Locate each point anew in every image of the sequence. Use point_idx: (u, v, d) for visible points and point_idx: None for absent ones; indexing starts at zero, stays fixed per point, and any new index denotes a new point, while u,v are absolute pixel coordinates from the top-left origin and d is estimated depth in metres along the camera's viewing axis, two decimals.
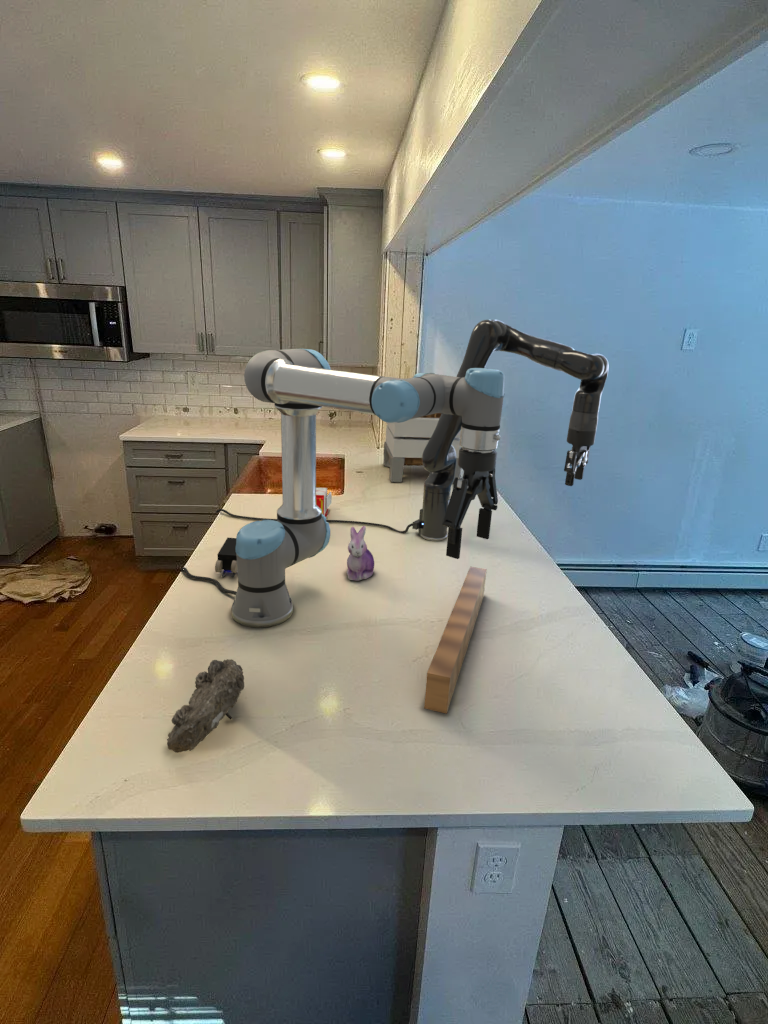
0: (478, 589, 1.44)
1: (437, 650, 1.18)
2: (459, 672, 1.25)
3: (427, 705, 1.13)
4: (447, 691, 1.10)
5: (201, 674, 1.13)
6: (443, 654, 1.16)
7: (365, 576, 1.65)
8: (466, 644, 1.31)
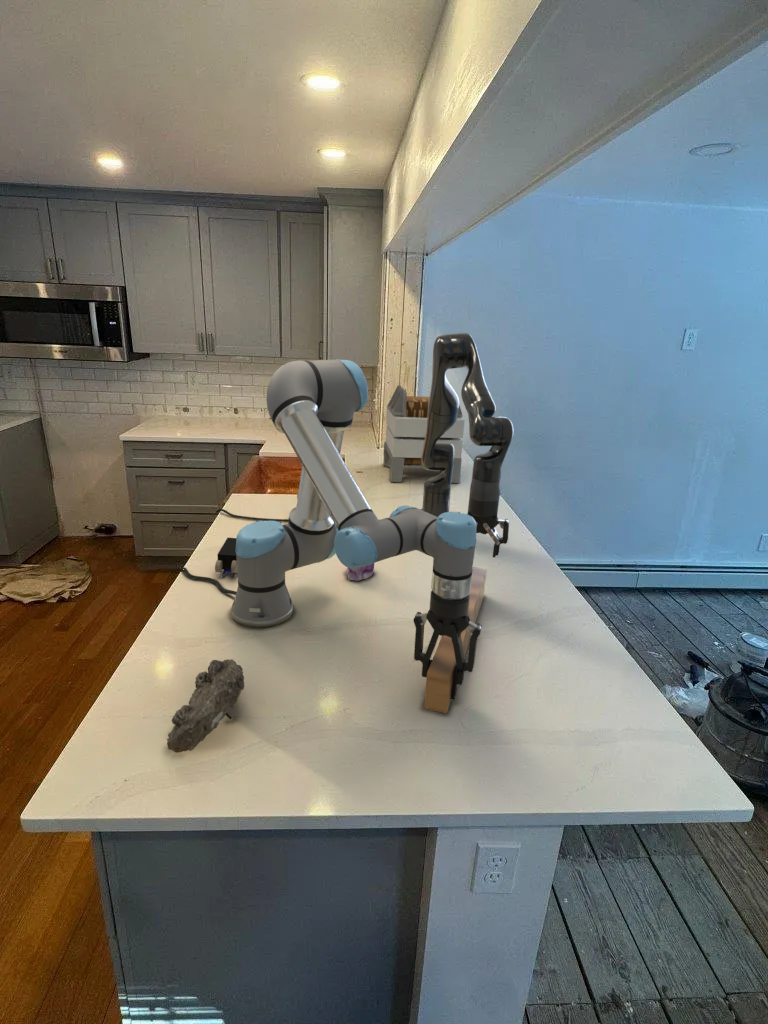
0: (478, 589, 1.44)
1: (437, 650, 1.18)
2: None
3: (427, 705, 1.13)
4: (447, 691, 1.10)
5: (201, 674, 1.13)
6: (443, 654, 1.16)
7: (365, 576, 1.65)
8: (466, 644, 1.31)
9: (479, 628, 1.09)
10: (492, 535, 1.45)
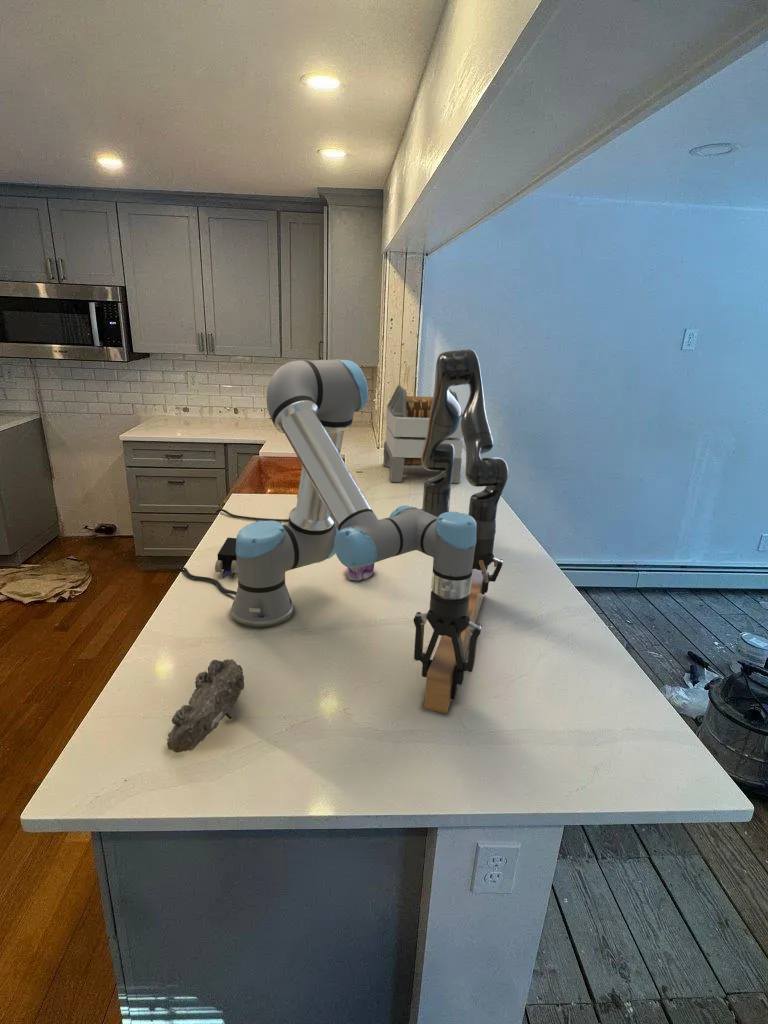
0: (478, 589, 1.44)
1: (437, 650, 1.18)
2: None
3: (427, 705, 1.13)
4: (447, 691, 1.10)
5: (201, 674, 1.13)
6: (443, 654, 1.16)
7: (365, 576, 1.65)
8: (466, 644, 1.31)
9: (479, 628, 1.09)
10: (484, 573, 1.49)
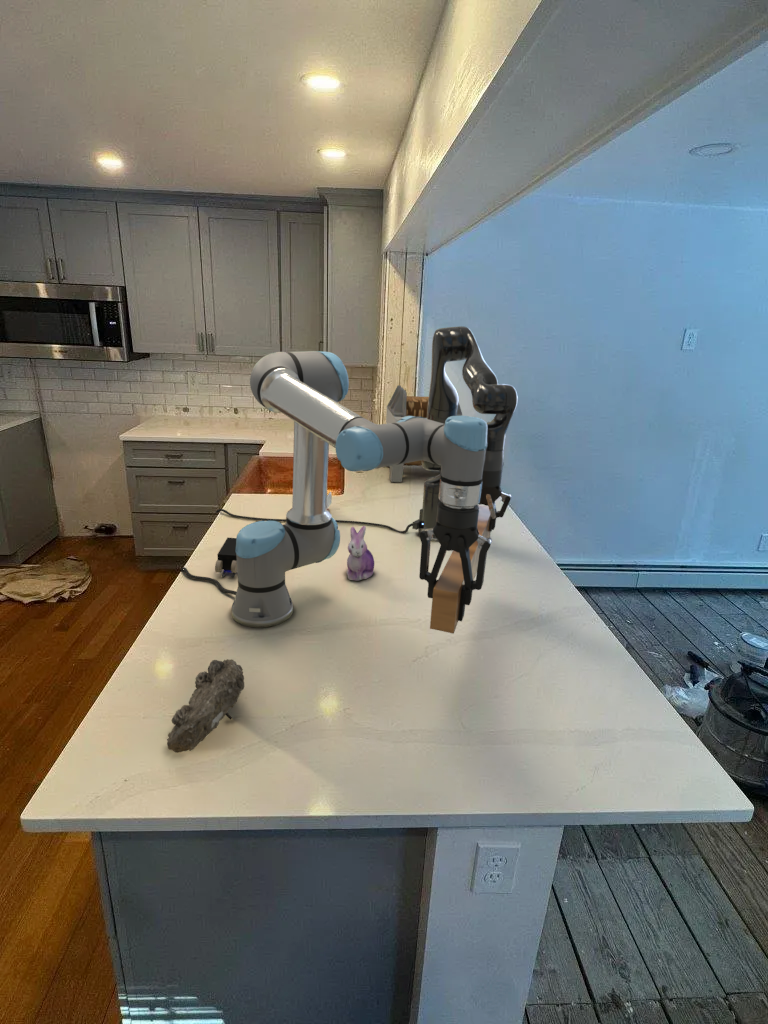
0: (485, 523, 1.38)
1: (444, 570, 1.11)
2: None
3: (433, 625, 1.06)
4: (454, 608, 1.04)
5: (201, 674, 1.13)
6: (450, 574, 1.10)
7: (365, 576, 1.65)
8: (473, 573, 1.25)
9: (489, 541, 1.03)
10: (491, 508, 1.43)
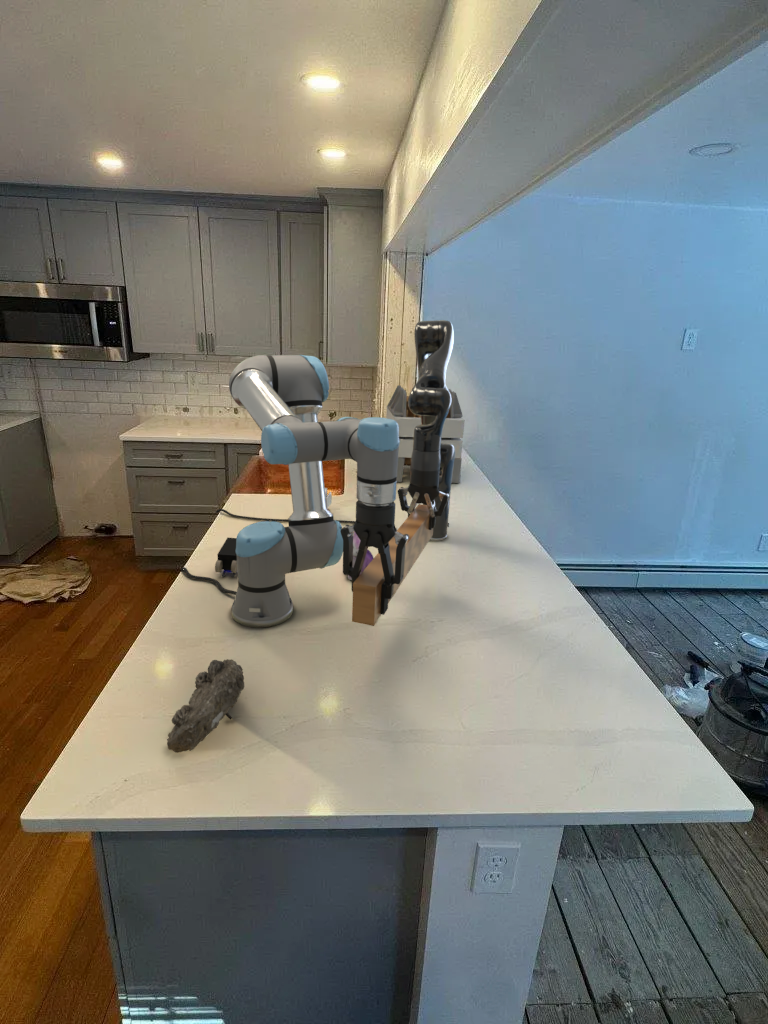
0: (422, 521, 1.43)
1: (368, 566, 1.16)
2: (394, 593, 1.23)
3: (355, 618, 1.11)
4: (373, 602, 1.09)
5: (201, 674, 1.13)
6: (374, 569, 1.15)
7: None
8: (404, 569, 1.29)
9: (405, 537, 1.08)
10: (430, 507, 1.47)
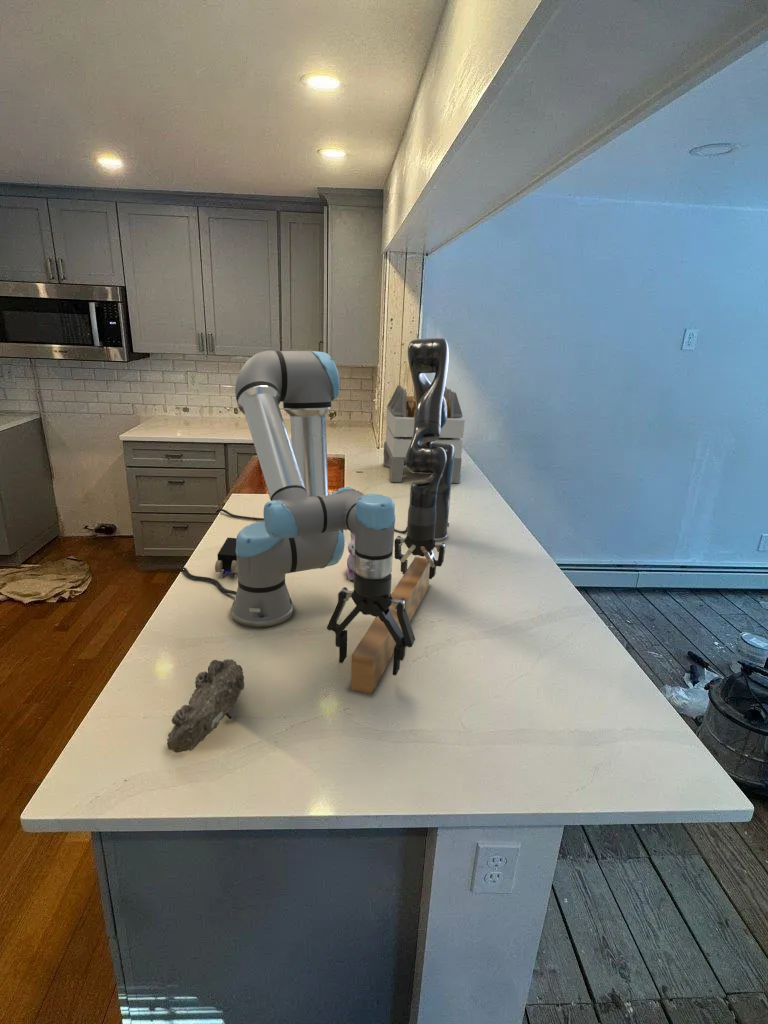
0: (418, 578, 1.49)
1: (366, 634, 1.22)
2: None
3: (353, 686, 1.17)
4: (371, 672, 1.15)
5: (201, 674, 1.13)
6: (371, 638, 1.21)
7: None
8: (401, 630, 1.35)
9: (401, 602, 1.12)
10: (428, 558, 1.52)
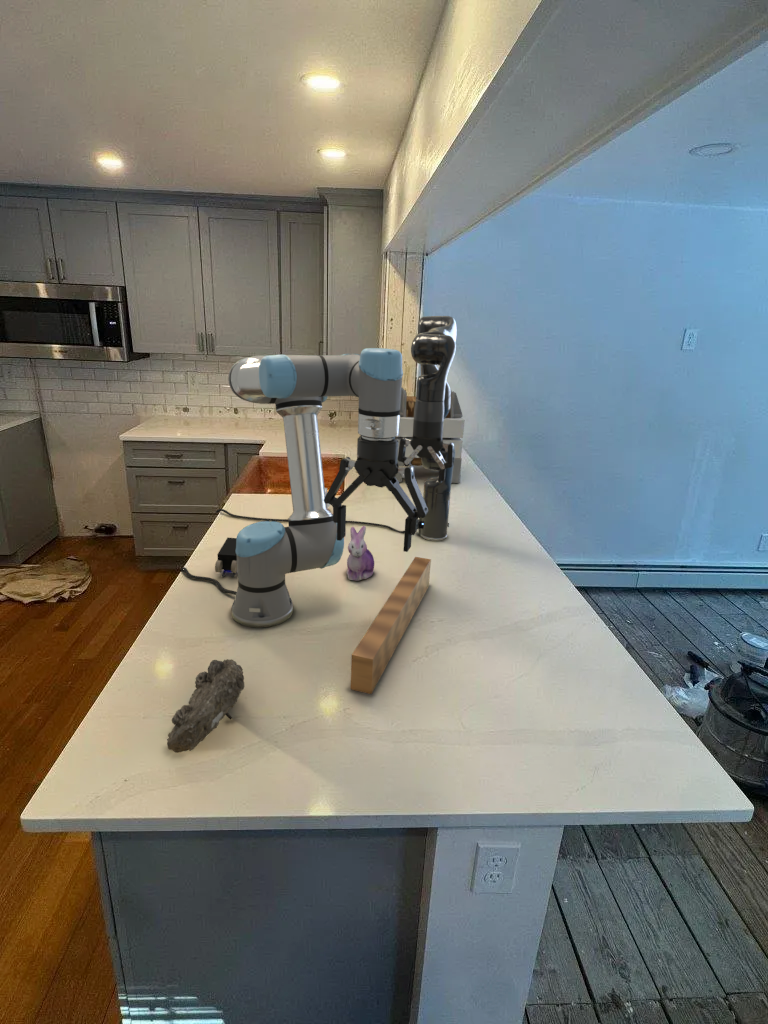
0: (418, 578, 1.49)
1: (366, 634, 1.22)
2: None
3: (353, 686, 1.17)
4: (371, 672, 1.15)
5: (201, 674, 1.13)
6: (371, 638, 1.21)
7: (365, 576, 1.65)
8: (401, 630, 1.35)
9: (408, 466, 1.03)
10: (437, 459, 1.42)
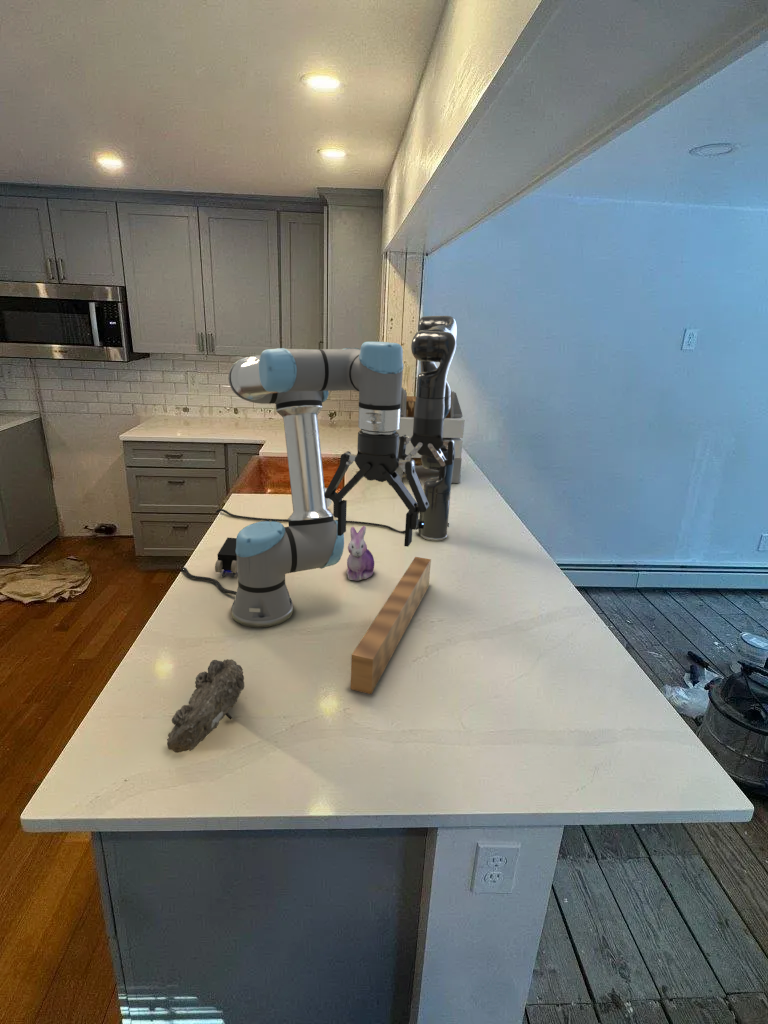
0: (418, 578, 1.49)
1: (366, 634, 1.22)
2: None
3: (353, 686, 1.17)
4: (371, 672, 1.15)
5: (201, 674, 1.13)
6: (371, 638, 1.21)
7: (365, 576, 1.65)
8: (401, 630, 1.35)
9: (409, 461, 1.03)
10: (437, 456, 1.42)
